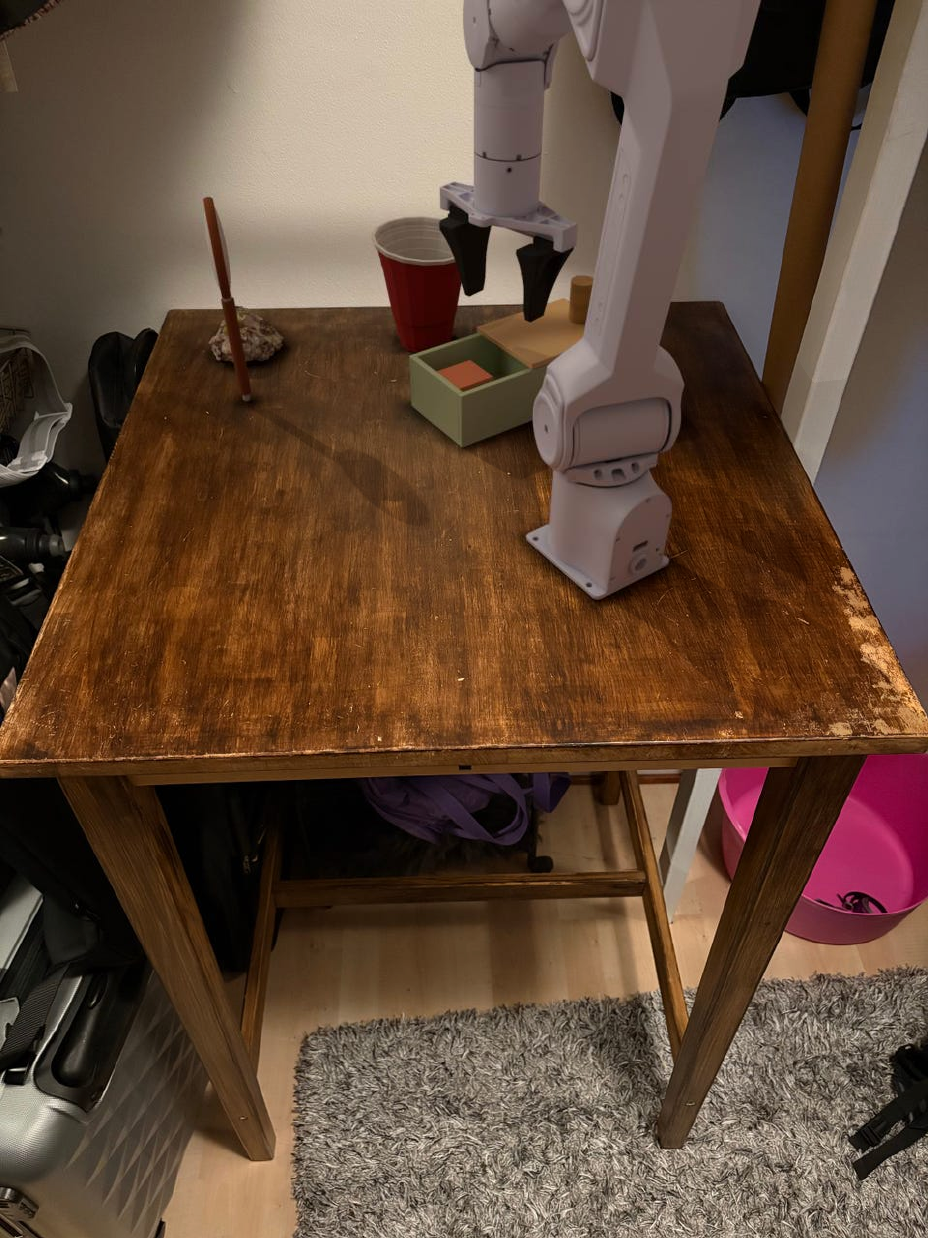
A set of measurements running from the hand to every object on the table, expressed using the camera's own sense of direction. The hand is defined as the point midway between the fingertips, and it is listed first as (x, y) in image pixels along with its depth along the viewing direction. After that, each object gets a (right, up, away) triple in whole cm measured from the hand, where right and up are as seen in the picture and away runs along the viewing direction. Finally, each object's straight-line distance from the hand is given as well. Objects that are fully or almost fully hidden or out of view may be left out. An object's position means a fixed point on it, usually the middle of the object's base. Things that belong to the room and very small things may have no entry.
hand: (503, 304), depth 85 cm
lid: (+5, -1, +6) cm, 7 cm away
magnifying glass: (-26, -7, +8) cm, 28 cm away
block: (-4, -9, +5) cm, 11 cm away
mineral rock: (-28, +1, +16) cm, 33 cm away
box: (-2, -8, +6) cm, 11 cm away
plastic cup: (-8, +1, +17) cm, 18 cm away
